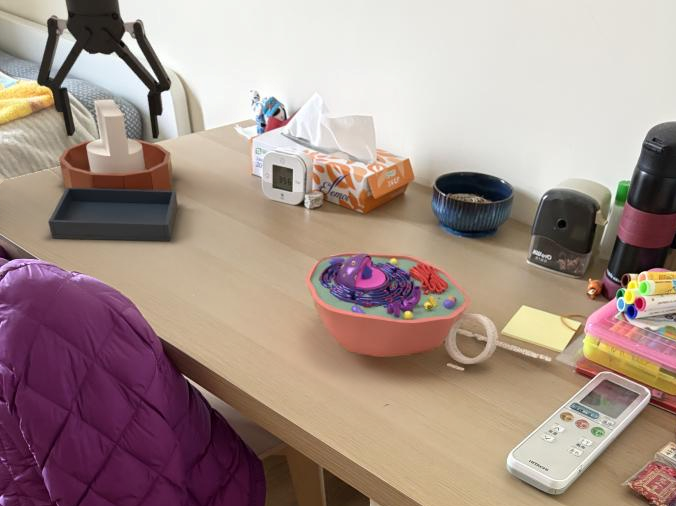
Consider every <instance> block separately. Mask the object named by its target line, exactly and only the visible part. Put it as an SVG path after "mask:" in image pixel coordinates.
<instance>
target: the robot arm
mask: <svg viewBox="0 0 676 506" xmlns="http://www.w3.org/2000/svg"><path fill="white" fill-rule="evenodd" d="M65 6H66V12H67V19H64V18H60V17H58V16H57V15H54V14H53V15H51V16H50V17H49V18H48V19H47V20H46V26H47V27H46V28H47V39H46V42H45V47H44V51H43V55H42V59H41V63H40V66H39V71H38V75H37V78H36V84H38V86H40V87H46V88H48V89H49V90H50V91H51V93H52V94H51V95H52V99H53V103H54V109H55V111H56V112H57V113H62V116H63V120H64V126H65V130H66V135H67V137H73V135H74V134H75V132H76V127H75V121H74V117H73V112H72V111H73V110H72V106H71V101H70V96H69V92H68V87H66V86H64V87H63V86H62V85H63V83H64V81H65V80H66V79H67V77H68V75H69V73H70V71H71V70H72V68H73V67H74V65H75V63H76V62H77V60H78V58H79V57H80V55H81V53H82V52H83V51H85V52H86V53H88V54H89V55H96V54H102V55H105V56H110V55H111V54H113V53H114V54H115V55H116V56H117V57H118V58H119V59H120V60H122V61H123V62H124V63H125V64H126V65H127V67H128V68H129V69H130V70H131V71H132V72H133V73H134V75H135V76H136V77H137V78H138V79H139V81H140V82H142V84H144V86H145V87H146V88H147V89H148V92H147V95H146V97H147V104H148V113H149V119H150V127H151V128H150V129H151V135H152V136H151V137H152V139H155V140H158V138H159V135H160V131H159V130H160V129H159V120H158V116H159V117H161V116H162V115H163V111H164V108H163V107H164V106H163V98H162V93H164V92H169V91H170V90H171V87H172V80H171V78H170V77H169V75H168V73H167V71H166V69H165V68H164V65H163V64H162V62H161V61H160V59H159V57H158V55H157V53H156V51H155V50H154V48H153V46H152V44H151V42H150V40H149V39H148V37H147V35H146V34H147V33H146V30H145V26H144V22H143V21H142V19H139V18H137V19H136V20H135V21H129V22H124V20H123V18H122V16H121V9H120V2H119V0H65ZM66 29H67V31H68V32H69V34H71V36H72V37H73V39H74V40H75V43H74V44H73V46H72V47H71V49H70V51H69V53H68V55H67V56H66V58H65V59H64V61H63V62H62V64H61V66H60V67H59V69H58V71H57V72H56V74H55V75H54V77H51V72H52V68H53V64H54V59H55V56H56V52H57V48H58V45H59V41H60V37H61V36H62V35H64V33H65V30H66ZM126 32H127V33H128V34H129V35H130V37H131V38H132V39H134V40H135V41H136V44H137V45H138V47H139V49H140V51H141V52H142V54H143V56H144V58H145V59H146V62H147V63H148V65H149V67H150V68H151V70H152V72H153V73H154V76H155V77H156V78H155V77H154V76H153V75H152V74H151V73H150V72H149V70H148V69H147V68H146V67H145V66H144V65H143V63H142V62H141V61H140V60H139V59H138V57H136V55H135V54H134V53H133V52H132V51H131V50H130V48H129V46H128V45H127V44H126V43H125V42H124V40H123V37H124V35H125V33H126ZM156 79H157V80H156Z"/></svg>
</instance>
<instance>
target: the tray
mask: <svg viewBox="0 0 676 506" xmlns="http://www.w3.org/2000/svg"><path fill="white" fill-rule="evenodd" d="M178 207H179V205H178V196H177V190H169V191H163V190H133V189H102V188H72V187H71V188H70V187H65V189H64V191H63V193H62V195H61V196H60V198H59V200H58V202H57V205H56V206H55V208H54V210H53V212H52V214H51V216H50V218H49V219H48V222H47V223H48V226H49V230H50V234H51V238H52V239H65V240H104V241H105V240H108V241H110V240H111V241H145V242H147V241H149V242H151V241H152V242H171V238H172V234H173V230H174V224H175V220H176V216H177V211H178Z"/></svg>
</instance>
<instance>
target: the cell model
mask: <svg viewBox="0 0 676 506" xmlns="http://www.w3.org/2000/svg"><path fill="white" fill-rule="evenodd" d="M305 283H306V286H307V289H308V290H309V293H310V294H311V297H312V301H313V304H314V307H315V310H316V313H317V315H318V317H319V319H320V321H321V322H322V324H323V326H324V327H325V329H326V331H327V332H328V333H329V334H330V335H331V336H332V338H333V339H334V340H335V341H336V342H337V343H338V344H339V345H340V346H341V347H342V348H343V349H344V350H346V351H348V352H350V353H352V354H356V355H357V354H358V355H362V356H368V357H378V358H390V357H397V356H414V355H421V354H426V353H429V352H431V351H433V350H435V349H437V348H438V347H440V346H441V345H442V344H443V343H444V342H445V338H446V336H447V334H448V333H449V331H450V330H451V329H452V328H453V327H454V326H455V325H456V324H457V322H458V321H459V319H460V318H461V316H462V315H463V314H465V311H466V310H467V308H468V307H469V305H470V302H471V299H470V296H469V295H468V294H467V292H466V291H465V289H464V288H463V287H462V286H460V284H459V283H458V282H457V281H456V280H455V279H454V278H453V277H452V275H451V274H449V272H447V271H446V270H444V269H442V268H441V267H439V266H436V265H434V264H432V263H430V262H428V261H425V260H423V259H422V258H419V257H416V256H412V255H408V254H391V253H374V252H373V253H372V252H359V251H357V252H355V251H353V252H341V253H336V254H332V255H329V256H326V257H323V258H321V259H319V260H317V261H316V262H314V264H313V265H311V268H310V269H309V271H308V272H307V274H306V276H305Z"/></svg>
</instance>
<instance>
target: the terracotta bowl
mask: <svg viewBox="0 0 676 506" xmlns="http://www.w3.org/2000/svg"><path fill="white" fill-rule="evenodd" d="M130 139H131V140H135V141H137V142H139V143H140V144H141V145H142V149H143V157H144V164H145V170H144V171H138V172H132V173H125V174H109V173H93V172H91V170H90V165H89V159H88V154H87V148H86V146H87V144H88V143H90V142H92V141H95V140H96V139H95V140H87V141H82V142H79V143H77V144H74V145H72V146H69V147H67V148H65V149H64V150H63V151H62V153H61V155H60V156H59V158H58V161H59V166H60V171H61V176H62V180H63V184H64V187H65V188H66V187H70V188H71V187H72V188H102V189H133V190H163V191H171V189H172V186H173V182H174V173H173V166H172V164H173V163H172V157H171V156H172V155H171V152H170V151H168V150H166V149H165V148H164V147H162V146H161V145H160V144H159V143H153V142H150V141H145V140H141V139H135V138H130Z"/></svg>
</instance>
